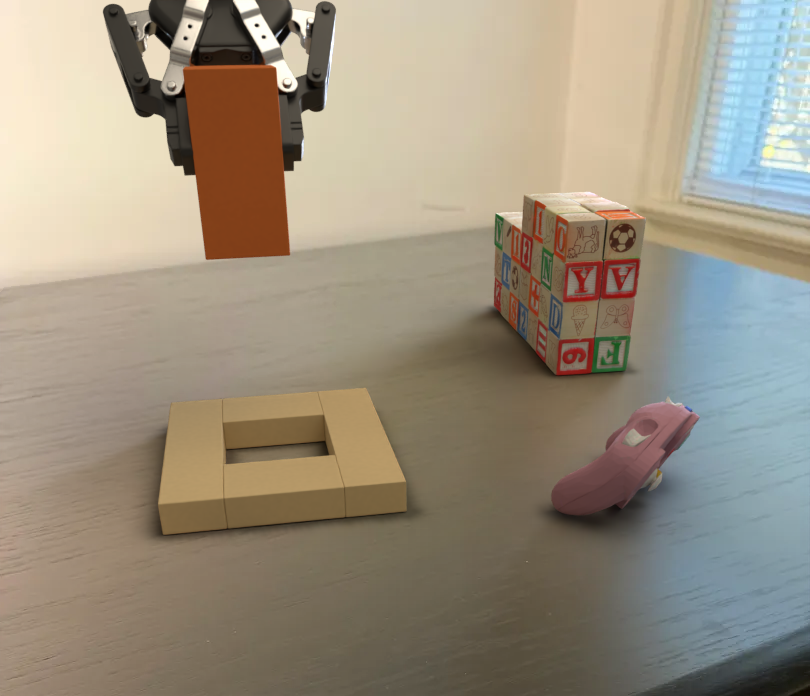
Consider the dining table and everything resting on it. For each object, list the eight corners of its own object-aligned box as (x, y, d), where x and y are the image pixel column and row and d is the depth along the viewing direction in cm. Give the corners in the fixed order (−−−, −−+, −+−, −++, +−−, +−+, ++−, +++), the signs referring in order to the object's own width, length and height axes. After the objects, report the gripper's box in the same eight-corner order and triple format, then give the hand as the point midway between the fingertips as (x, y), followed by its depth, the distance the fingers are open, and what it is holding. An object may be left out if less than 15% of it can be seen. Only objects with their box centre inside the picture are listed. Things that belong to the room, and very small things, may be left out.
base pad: (162, 535, 50) (157, 504, 49) (174, 428, 64) (170, 402, 63) (406, 511, 52) (406, 481, 51) (367, 413, 66) (366, 387, 65)
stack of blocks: (491, 307, 91) (495, 178, 84) (550, 304, 91) (559, 176, 85) (556, 376, 72) (568, 218, 66) (629, 371, 73) (647, 214, 67)
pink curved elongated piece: (602, 554, 51) (671, 466, 46) (539, 504, 51) (601, 414, 47) (660, 488, 58) (725, 407, 53) (604, 446, 59) (663, 362, 54)
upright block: (205, 260, 52) (182, 68, 47) (205, 243, 57) (184, 66, 52) (290, 255, 53) (276, 67, 48) (284, 239, 57) (270, 64, 52)
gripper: (325, -17, 60) (357, 200, 55) (104, -15, 57) (121, 211, 53) (329, -127, 53) (367, 113, 48) (78, -130, 50) (94, 121, 46)
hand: (238, 163), depth 51 cm, fingers closed on upright block, 5 cm apart
